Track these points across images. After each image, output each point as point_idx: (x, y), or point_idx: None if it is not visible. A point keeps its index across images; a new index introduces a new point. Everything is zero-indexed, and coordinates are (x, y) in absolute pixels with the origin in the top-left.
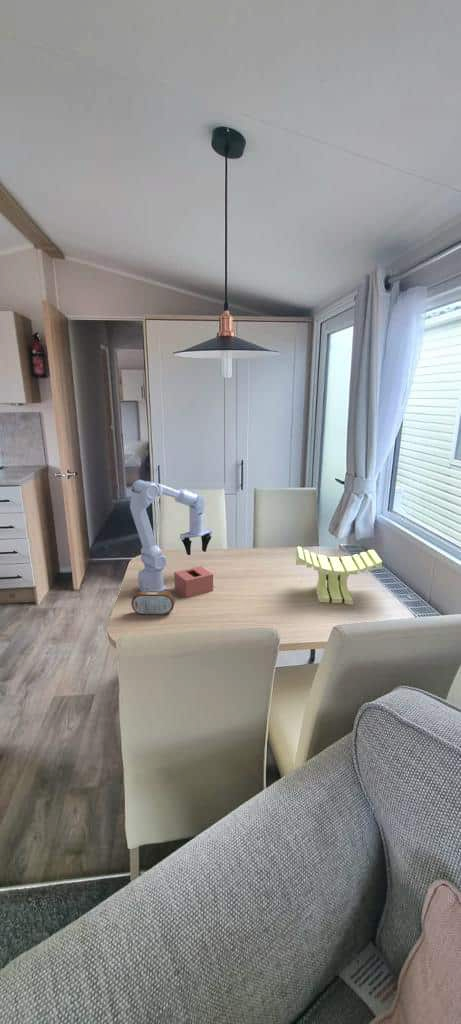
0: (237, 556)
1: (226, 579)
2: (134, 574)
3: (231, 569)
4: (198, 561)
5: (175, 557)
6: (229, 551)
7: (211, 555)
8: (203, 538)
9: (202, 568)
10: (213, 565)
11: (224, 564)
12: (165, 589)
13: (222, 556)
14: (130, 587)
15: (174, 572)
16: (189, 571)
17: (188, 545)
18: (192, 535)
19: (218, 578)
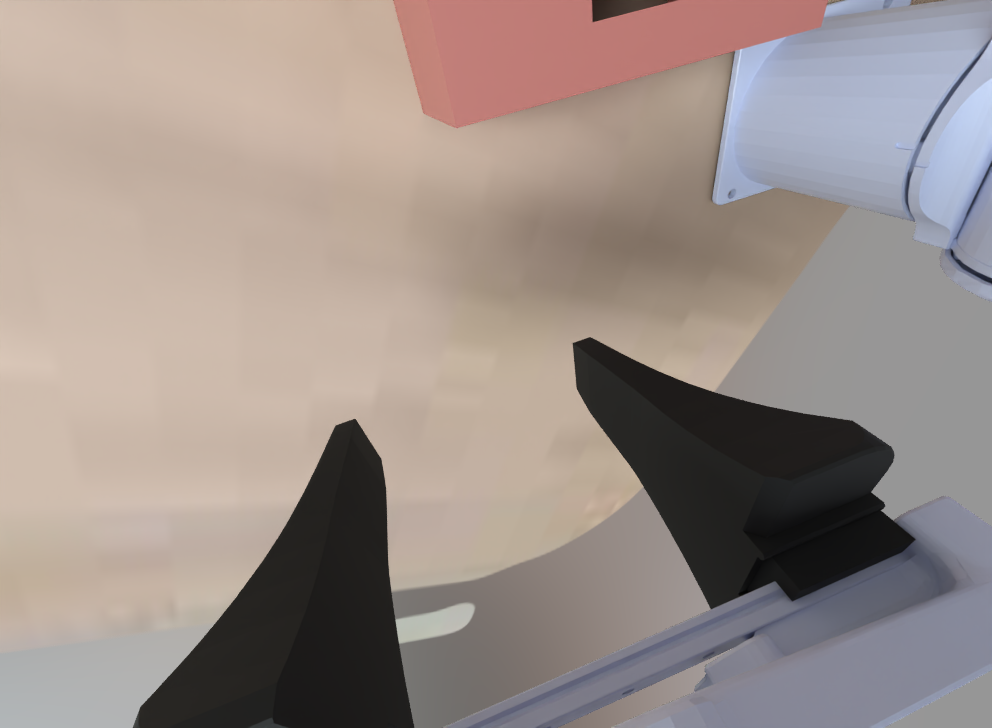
0: (39, 561)
1: (88, 81)
2: (737, 356)
3: (58, 345)
4: None
5: (485, 520)
6: (130, 609)
7: None
8: (371, 659)
9: (447, 10)
10: (261, 431)
11: (156, 443)
12: None
13: (184, 550)
14: None
15: (819, 24)
16: (642, 9)
17: (729, 406)
18: (865, 684)
19: (210, 149)
